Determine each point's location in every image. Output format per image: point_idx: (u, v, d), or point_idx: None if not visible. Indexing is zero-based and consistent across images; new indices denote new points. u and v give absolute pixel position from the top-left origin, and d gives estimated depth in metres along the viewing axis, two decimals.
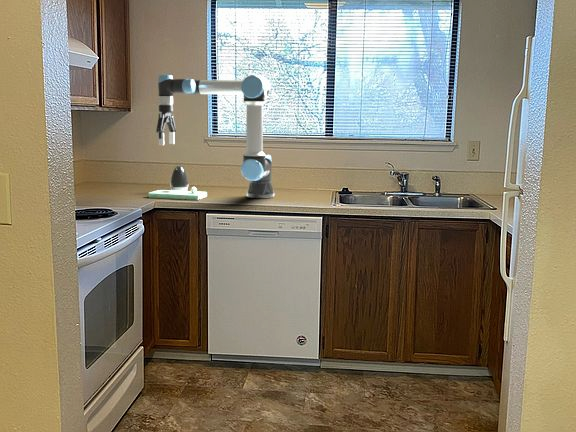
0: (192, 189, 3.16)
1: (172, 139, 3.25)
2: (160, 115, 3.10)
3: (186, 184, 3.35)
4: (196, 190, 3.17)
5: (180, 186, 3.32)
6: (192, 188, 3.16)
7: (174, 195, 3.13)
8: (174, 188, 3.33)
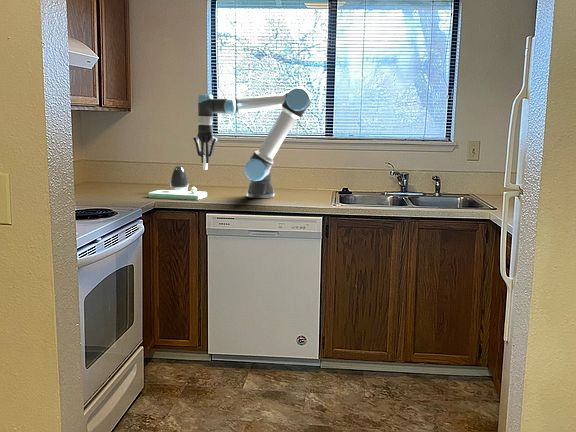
0: (192, 189, 3.16)
1: None
2: None
3: (186, 184, 3.35)
4: (196, 190, 3.17)
5: (180, 186, 3.32)
6: (192, 188, 3.16)
7: (174, 195, 3.13)
8: (174, 188, 3.33)
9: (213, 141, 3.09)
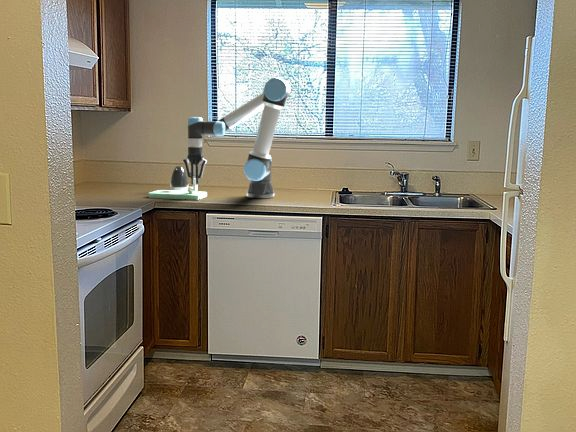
0: (188, 189, 3.16)
1: None
2: None
3: (186, 184, 3.35)
4: (192, 187, 3.17)
5: (180, 186, 3.32)
6: (188, 189, 3.17)
7: (174, 195, 3.13)
8: (174, 188, 3.33)
9: (203, 163, 3.13)
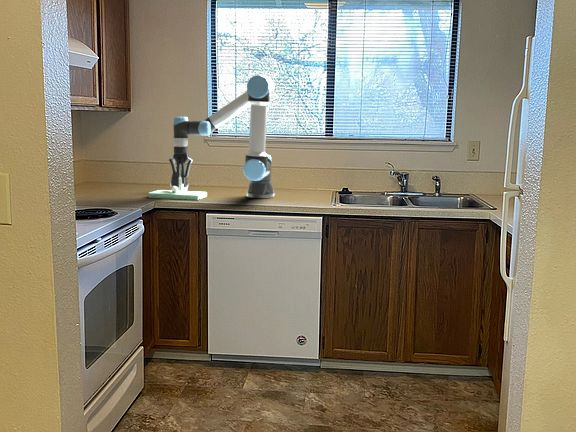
0: (173, 188, 3.18)
1: None
2: None
3: (186, 184, 3.35)
4: (177, 189, 3.19)
5: None
6: (173, 187, 3.18)
7: (174, 195, 3.13)
8: None
9: (188, 162, 3.14)
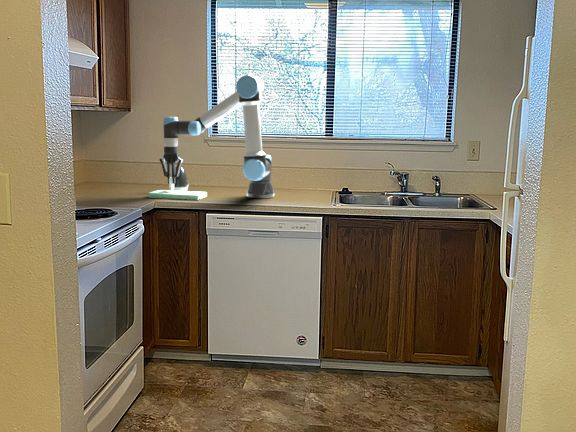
0: None
1: None
2: None
3: (186, 184, 3.35)
4: None
5: (180, 186, 3.32)
6: None
7: (174, 195, 3.13)
8: (174, 188, 3.33)
9: (179, 162, 3.15)
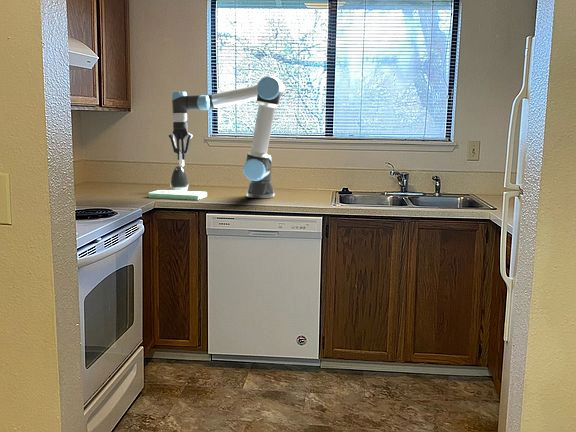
0: None
1: None
2: None
3: (186, 184, 3.35)
4: None
5: (180, 186, 3.32)
6: None
7: (174, 195, 3.13)
8: (174, 188, 3.33)
9: (188, 138, 3.12)
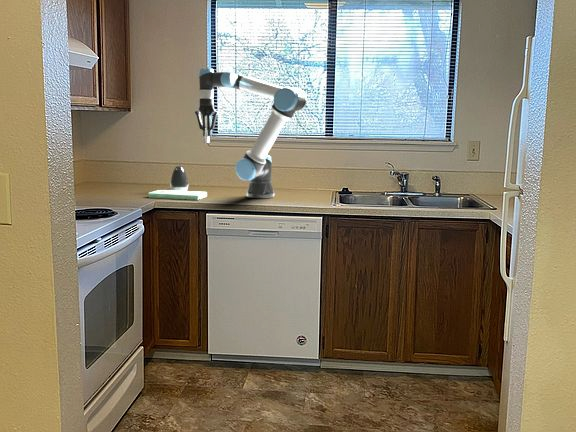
0: None
1: None
2: None
3: (186, 184, 3.35)
4: None
5: (180, 186, 3.32)
6: None
7: (174, 195, 3.13)
8: (174, 188, 3.33)
9: (214, 114, 3.15)
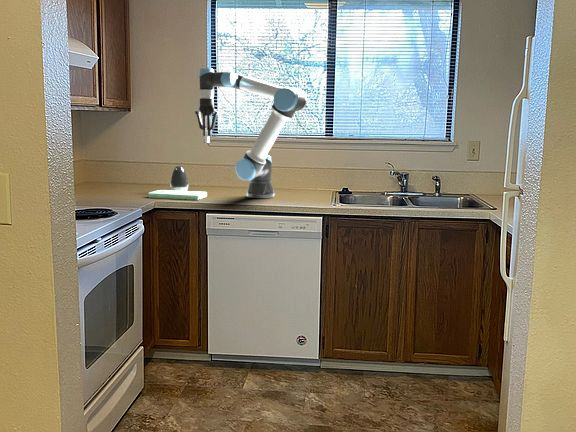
0: None
1: None
2: None
3: (186, 184, 3.35)
4: None
5: (180, 186, 3.32)
6: None
7: (174, 195, 3.13)
8: (174, 188, 3.33)
9: (214, 114, 3.15)
